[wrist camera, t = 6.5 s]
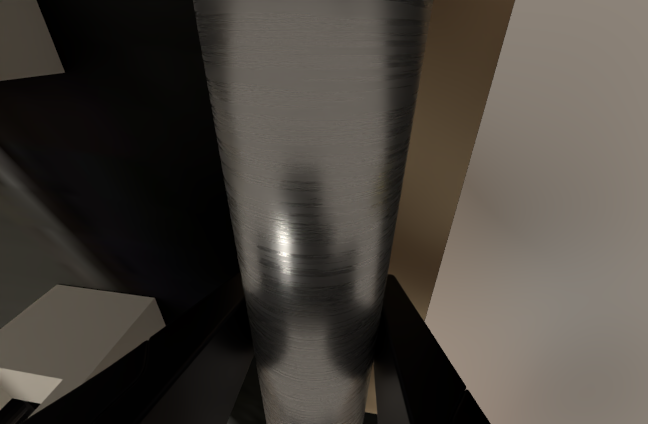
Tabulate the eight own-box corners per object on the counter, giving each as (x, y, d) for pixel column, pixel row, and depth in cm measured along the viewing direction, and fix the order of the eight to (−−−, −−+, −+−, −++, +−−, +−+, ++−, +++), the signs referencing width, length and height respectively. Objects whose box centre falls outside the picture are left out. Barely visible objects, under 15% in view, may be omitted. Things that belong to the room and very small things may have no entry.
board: (396, 404, 15) (397, 417, 15) (266, 382, 16) (262, 394, 16) (588, -313, 5) (615, -356, 4) (166, -264, 5) (143, -294, 5)
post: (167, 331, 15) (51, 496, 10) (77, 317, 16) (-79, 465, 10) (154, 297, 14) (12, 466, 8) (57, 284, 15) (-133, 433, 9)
